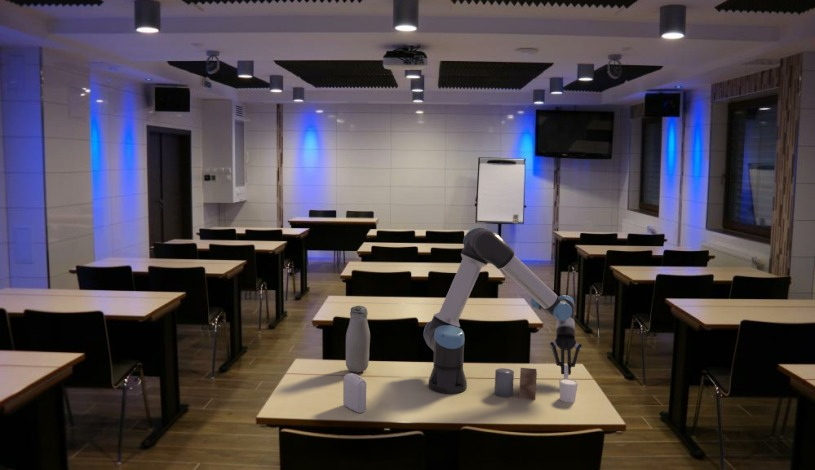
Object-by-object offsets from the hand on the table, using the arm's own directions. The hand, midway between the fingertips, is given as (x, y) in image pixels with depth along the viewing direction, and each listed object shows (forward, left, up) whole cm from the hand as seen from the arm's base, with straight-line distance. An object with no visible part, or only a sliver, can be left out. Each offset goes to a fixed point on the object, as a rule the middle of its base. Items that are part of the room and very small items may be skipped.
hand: (566, 381), depth 254 cm
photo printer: (-76, -40, -3) cm, 86 cm away
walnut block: (-15, -12, -3) cm, 19 cm away
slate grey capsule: (-24, -12, -3) cm, 27 cm away
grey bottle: (-85, -1, -3) cm, 85 cm away
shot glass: (0, -12, -3) cm, 12 cm away
